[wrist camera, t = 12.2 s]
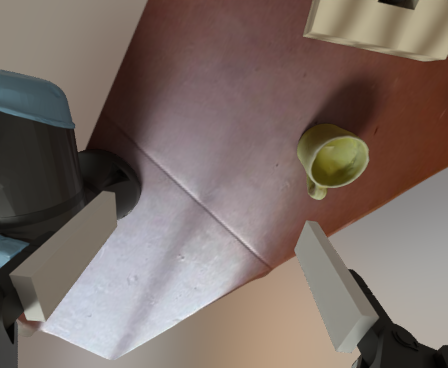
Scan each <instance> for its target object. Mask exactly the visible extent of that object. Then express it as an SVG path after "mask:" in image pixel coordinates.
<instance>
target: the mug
mask: <svg viewBox="0 0 448 368" xmlns="http://www.w3.org/2000/svg"><path fill="white" fill-rule="evenodd" d="M297 155H298V158H299V160H300V161H301V162H302V164H303V166H304V168H305V170H306V172H307V187H308V194H309V195H310V196H311V197H312V198H314V199H318V200H321V199H323V198H324V197H325V196H326V194H327V188H328V187H332V188H336V187H340V186H344V185H347V184H349V183H351V182H352V181H354V180H355V179H356V178H357V177H359V176H360V175H361V174H362V172H363V171H364V170H365V169H366V167H367V164H368V162H369V155H368V147H367V145H366V143H365V142H364V141H363V140H362V139H361V138H359V137H358V136H356V135H354V134H353V133H352V132H349V131H346V130H344V129H341V128H340V127H338V126H336V125H334V124H319V125H316V126H314V127H312V128H310V129H309V130H307V131H306V132H305V133H304V134H303V135H302V137H301V139H300V141H299V143H298V147H297Z"/></svg>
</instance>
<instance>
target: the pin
mask: <svg viewBox="0 0 448 368" xmlns="http://www.w3.org/2000/svg"><path fill="white" fill-rule="evenodd" d="M401 1H404V0H381V2H382V3H384V4H388V5H395V4H397V3H399V2H401Z"/></svg>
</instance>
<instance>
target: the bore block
mask: <svg viewBox="0 0 448 368" xmlns="http://www.w3.org/2000/svg"><path fill="white" fill-rule="evenodd" d="M303 36H304V37H309V38H314V39H319V40H323V41H328V42H333V43H338V44H343V45H348V46H352V47H357V48H362V49H367V50H372V51H376V52H381V53H386V54H391V55H396V56H401V57H405V58H410V59H415V60H420V61H433V60H443V59H446V57H447V55H448V0H404V1H401V2H399V3H397V4H395V5H388V4H384V3H382V2H381V0H313V1H312V5H311V9H310V12H309V16H308V20H307V23H306V27H305V30H304V34H303Z"/></svg>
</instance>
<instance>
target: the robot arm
mask: <svg viewBox="0 0 448 368" xmlns="http://www.w3.org/2000/svg"><path fill="white" fill-rule="evenodd" d="M74 128H75V124H74V123H73V122H72V118H71V114H70V109H69V106H68V101H67V98H66V95H65V94H64V92H63V91H62V90H61V89H60V88H59V87H58V86H57V85H55V84H53V83H52V82H49V81H47V80H43V79H40V78H36V77H32V76H28V75H24V74H19V73H15V72H10V71H5V70H0V368H18V365H17V364H18V361H17V360H18V358H17V357H18V354H17V353H18V324H17V322H16V319H17V318H18V317H19V316H20V315H21V314H22V313H23V311H24V313H25V316H26V318H27V320H35V321H44V322H46V321H47V319H48V318H49V317H50V315H51V314H52V313H53V311H54V310H55V309H56V307H57V306H58V305H59V303H60V302H61V301H62V299H63V298H64V297H65V295H66V294H67V293H68V291H69V290H70V289H71V287H72V286H73V285H74V283H75V282H76V281H77V279H78V278H79V277H80V275H81V274H82V273H83V271H84V270H85V269H86V267H87V266H88V265H89V263H90V262H91V261H92V259H93V258H94V257H95V255H96V254H97V253H98V251H99V250H100V249H101V247H102V246H103V245H104V243H105V242H106V241H107V239H108V238H109V237H110V235H111V234H112V233H113V231H114V230H115V229H116V227H117V220H119V219H122V218H123V217H125V216H127V215H128V214H129V213H130V212H131V211H132V210H133V209H134V207H135V206H136V204H137V203H138V201H139V198H140V193H141V188H140V183H139V180H138V177H137V175H136V173H135V172H134V170H133V169H132V168H131V167H130V166H129V165H128V164H127V163H126V162H125V161H124V160H123V159H121V158H120V157H118V156H116V155H115V154H112V153H110V152H107V151H104V150H98V149H88V150H83V151H80V152H78V151H77V145H76V139H75V133H74ZM295 253H296V255H297V258H298V260H299V263H300V265H301V268H302V270H303V272H304V275H305V277H306V280H307V282H308V285H309V287H310V290H311V292H312V294H313V297H314V299H315V302H316V304H317V307H318V309H319V311H320V314H321V316H322V319H323V321H324V324H325V326H326V329H327V331H328V333H329V336H330V338H331V341H332V343H333V346H334V348H335V351H337V352H347V353H352V351H353V350H354V349H355V348H356V346H357V347H358V349H359V351H360V352H361V355H360V356H359V358H358V359H357V360H356V361H355V362H354V363H353V365H352V368H355V367H356V366H357V367H356V368H448V345H443V346H442V347H441V348H440V349H439V350H435V349H433V348H430V347H428V346H425V345H423V344H420V343H418V341H417V340H416V339H415V338H414V337H413V336H412V334H411V333H410V332H408V331H407V330H406V329H404V328H403V327H401V326H399V325H397V324H394V323H393V322H392V321H391V319H390V318H389V316H388V315H387V313H386V312H385V310H384V309H383V308H382V306H381V305H380V303H379V302H378V300H377V299H376V298H375V296H374V295H373V293H372V292H371V290H370V289H369V288H368V286H367V285H366V283H365V282H364V280H363V279H362V278H361V277H360V276H359V275H358V274H357V273H356V272H355V271H354V270H351V269H347V267H346V266H345V264H344V263H343V261H342V259H341V258H340V256H339V255H338V253H337V252H336V250H335V249H334V247H333V246H332V244H331V243H330V241H329V240H328V238H327V237H326V235H325V233H324V232H323V230H322V229H321V227H320V226H319V224H318V223H317V222H314V221H306V223H305V225H304V228H303V230H302V233H301V235H300V238H299V240H298V242H297V245H296V247H295Z"/></svg>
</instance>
